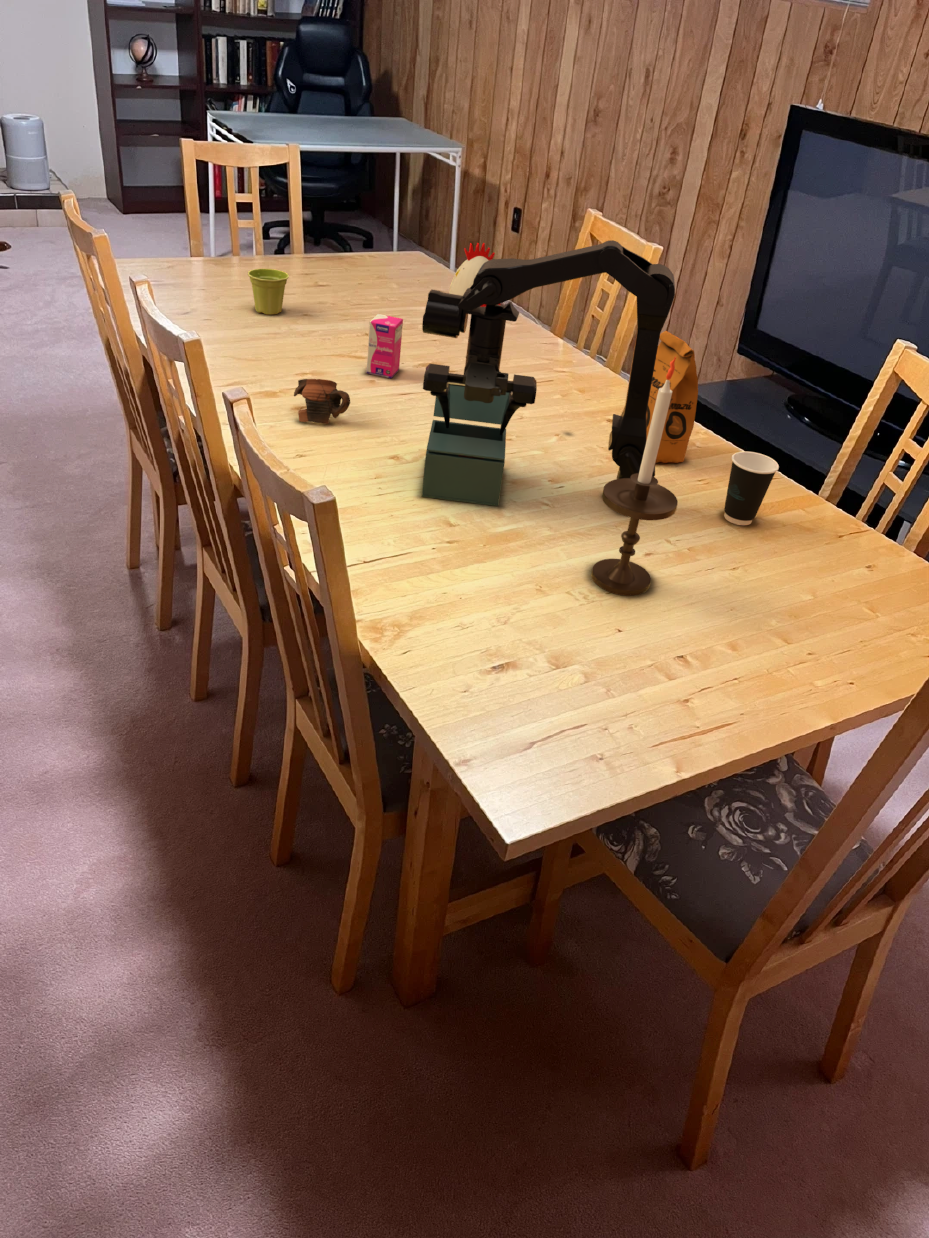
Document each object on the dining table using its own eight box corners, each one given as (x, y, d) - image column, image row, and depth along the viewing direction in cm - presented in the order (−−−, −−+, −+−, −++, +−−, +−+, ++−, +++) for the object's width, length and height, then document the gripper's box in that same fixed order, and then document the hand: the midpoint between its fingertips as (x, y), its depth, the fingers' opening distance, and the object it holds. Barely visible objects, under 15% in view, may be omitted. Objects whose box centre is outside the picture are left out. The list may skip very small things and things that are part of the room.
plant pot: (243, 305, 235) (243, 268, 230) (282, 304, 238) (282, 267, 234) (254, 318, 228) (253, 280, 223) (293, 317, 232) (293, 279, 227)
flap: (438, 376, 171) (438, 377, 171) (433, 416, 171) (433, 416, 171) (511, 386, 171) (511, 386, 171) (506, 425, 171) (506, 425, 172)
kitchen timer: (441, 293, 260) (447, 234, 252) (490, 294, 264) (497, 236, 256) (456, 310, 250) (463, 249, 241) (507, 311, 254) (515, 251, 245)
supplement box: (365, 374, 207) (368, 321, 200) (374, 365, 212) (377, 312, 205) (391, 379, 206) (395, 326, 200) (399, 370, 211) (403, 318, 204)
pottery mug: (282, 422, 184) (284, 377, 183) (308, 428, 193) (310, 386, 192) (339, 421, 179) (340, 376, 179) (363, 428, 188) (364, 384, 188)
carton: (421, 496, 164) (426, 449, 160) (428, 461, 176) (433, 415, 171) (498, 506, 165) (505, 459, 160) (500, 470, 176) (506, 424, 171)
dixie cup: (710, 521, 169) (727, 463, 163) (720, 503, 175) (736, 447, 169) (756, 534, 167) (775, 476, 160) (764, 516, 173) (782, 459, 167)
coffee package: (644, 465, 185) (671, 352, 172) (619, 437, 194) (643, 328, 182) (691, 465, 187) (721, 353, 175) (664, 437, 197) (691, 329, 185)
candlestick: (609, 553, 156) (658, 338, 136) (668, 581, 151) (728, 362, 131) (571, 577, 149) (617, 353, 129) (632, 607, 143) (689, 379, 124)
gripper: (424, 351, 152) (415, 443, 161) (542, 367, 153) (527, 458, 162) (430, 329, 162) (421, 417, 170) (542, 343, 162) (528, 430, 171)
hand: (474, 431), depth 168 cm, fingers open, 9 cm apart
